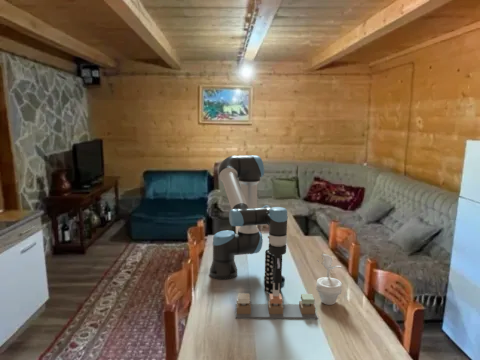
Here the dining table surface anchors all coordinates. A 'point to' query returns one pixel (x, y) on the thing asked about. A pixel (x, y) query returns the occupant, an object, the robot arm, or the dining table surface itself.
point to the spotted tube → (269, 273)
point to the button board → (275, 311)
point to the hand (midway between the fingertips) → (275, 295)
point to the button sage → (307, 299)
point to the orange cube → (275, 299)
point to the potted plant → (328, 283)
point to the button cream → (243, 299)
